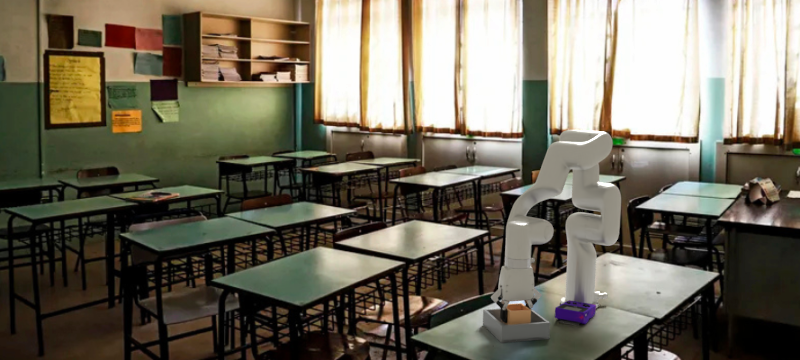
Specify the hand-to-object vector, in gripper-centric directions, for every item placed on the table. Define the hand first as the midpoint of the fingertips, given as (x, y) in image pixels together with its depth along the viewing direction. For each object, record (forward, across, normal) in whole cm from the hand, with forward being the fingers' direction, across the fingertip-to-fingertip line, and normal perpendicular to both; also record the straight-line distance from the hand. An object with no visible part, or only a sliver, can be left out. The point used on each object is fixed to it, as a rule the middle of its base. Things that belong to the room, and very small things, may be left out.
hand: (515, 320), depth 203 cm
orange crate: (+1, 0, 0) cm, 1 cm away
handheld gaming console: (+4, -24, -8) cm, 26 cm away
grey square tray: (+4, 0, 0) cm, 4 cm away
